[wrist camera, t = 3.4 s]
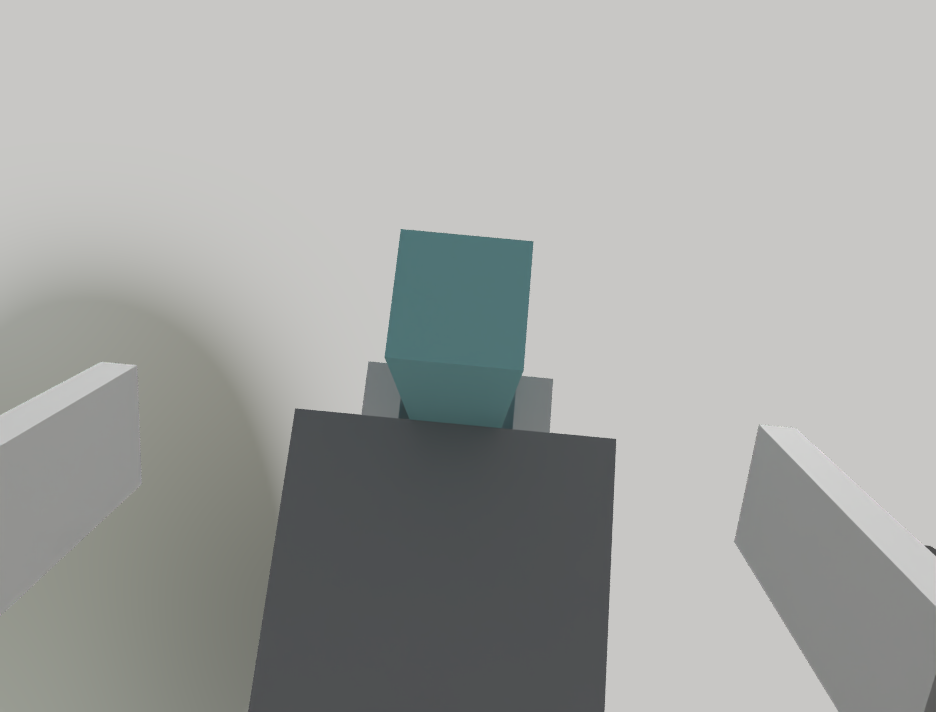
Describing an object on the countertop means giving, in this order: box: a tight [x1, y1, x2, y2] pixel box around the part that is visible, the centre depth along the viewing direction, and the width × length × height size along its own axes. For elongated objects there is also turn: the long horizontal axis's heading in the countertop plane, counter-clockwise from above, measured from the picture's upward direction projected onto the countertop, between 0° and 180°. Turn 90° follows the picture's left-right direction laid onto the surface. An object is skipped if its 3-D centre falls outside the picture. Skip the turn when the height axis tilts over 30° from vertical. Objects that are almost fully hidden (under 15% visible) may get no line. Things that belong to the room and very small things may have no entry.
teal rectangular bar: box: [385, 229, 533, 428], centre depth 34 cm, size 26×4×4 cm, turn 1°
